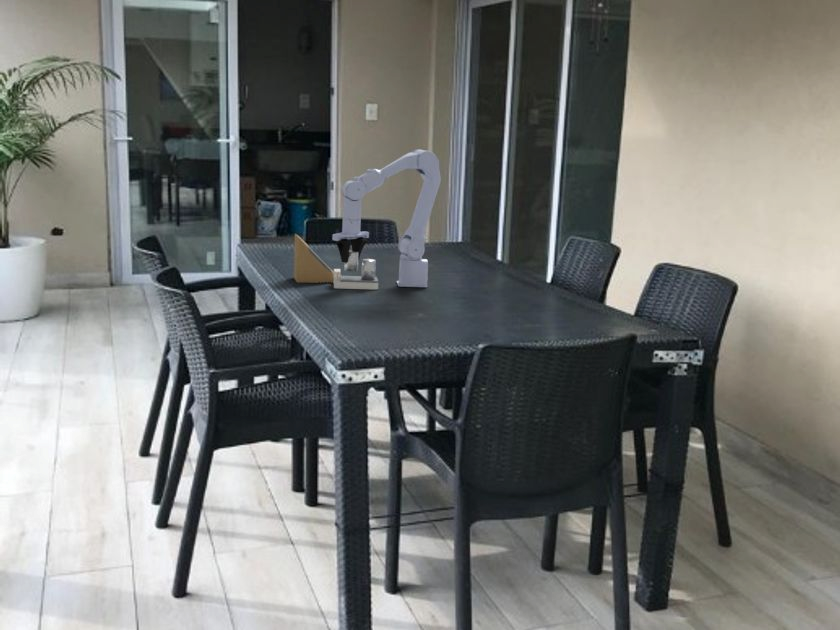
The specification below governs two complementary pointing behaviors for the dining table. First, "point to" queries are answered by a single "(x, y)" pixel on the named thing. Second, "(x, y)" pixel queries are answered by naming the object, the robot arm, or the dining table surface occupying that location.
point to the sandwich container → (309, 264)
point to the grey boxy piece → (353, 282)
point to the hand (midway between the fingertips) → (350, 261)
